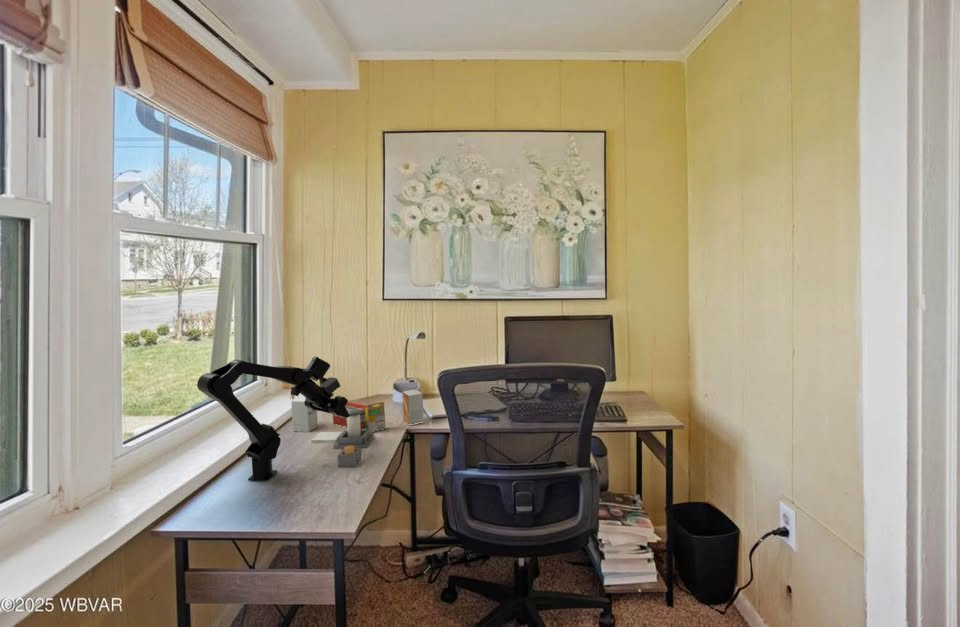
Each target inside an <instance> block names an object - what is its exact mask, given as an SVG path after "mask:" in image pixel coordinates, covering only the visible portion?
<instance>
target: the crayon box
mask: <svg viewBox="0 0 960 627" xmlns="http://www.w3.org/2000/svg"><path fill="white" fill-rule="evenodd" d="M367 406H368V408H365V418H366V427H365V430H369V431H370V434H372V433H371V432H373V433H375V431H377V432H380V431H379V430H381V431H385V430H386V417H385V416H386V414H385V413H386V412H385V401H381V402H376V403H372V404H371V403H370V404H367ZM384 429H385V430H384Z"/></svg>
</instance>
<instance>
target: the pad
mask: <svg viewBox="0 0 960 627" xmlns="http://www.w3.org/2000/svg"><path fill="white" fill-rule="evenodd" d="M342 433H343V431H325V432H324V431H320V432H318V433H317V434H316V435H315V436H314V437H313V438H312V439H311V440H310V441H311V443H312V444H313V443H314V444H315V443H316V444H318V443H319V444H321V443H336V442H337V441H338V437H339V436H340V435H341V434H342Z"/></svg>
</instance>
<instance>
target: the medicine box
mask: <svg viewBox="0 0 960 627" xmlns="http://www.w3.org/2000/svg"><path fill="white" fill-rule="evenodd" d="M345 407H346V409H347V411H348V410H352V409H359V410H360V427H361V429H363V428H366V427H365V426H366V418H365V408H368V405H364V404H358V403H352V402H349V401H348V402H347V404H346V406H345ZM332 421H333V425H334V424H337V425H336V426H338V425H341V426H340V427H343V426H346V427H345V428H347V417H342V416H337V415H333V414H332ZM362 427H363V428H362Z"/></svg>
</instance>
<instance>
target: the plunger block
mask: <svg viewBox="0 0 960 627" xmlns="http://www.w3.org/2000/svg"><path fill="white" fill-rule="evenodd" d="M354 452H355V453H354V454H345V452H344V448H342V449H341V450H340V452H339V454H337V467H338V468H357V467H358V466H359V464H360V463H361V462H362V448H354ZM359 462H360V463H359ZM357 465H358V466H357Z"/></svg>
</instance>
